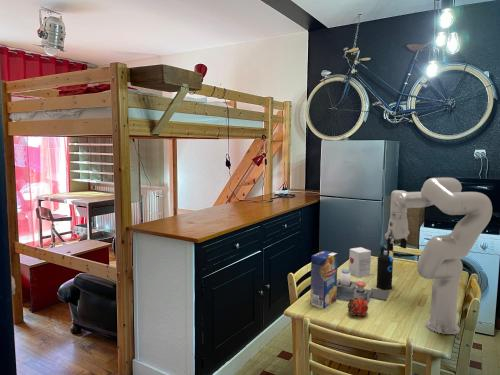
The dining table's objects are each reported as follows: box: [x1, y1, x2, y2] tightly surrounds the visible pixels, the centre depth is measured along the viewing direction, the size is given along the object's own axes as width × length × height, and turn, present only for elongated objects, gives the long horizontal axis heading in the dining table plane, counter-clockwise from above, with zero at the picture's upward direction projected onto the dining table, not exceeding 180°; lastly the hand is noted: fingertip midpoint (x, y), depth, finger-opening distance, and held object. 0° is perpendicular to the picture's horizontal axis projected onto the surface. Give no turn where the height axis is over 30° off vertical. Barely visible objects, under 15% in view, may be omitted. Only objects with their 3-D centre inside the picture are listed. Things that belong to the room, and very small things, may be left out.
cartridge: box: [339, 268, 352, 287], centre depth 192 cm, size 5×5×10 cm
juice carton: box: [310, 250, 339, 310], centre depth 180 cm, size 12×8×24 cm, turn 139°
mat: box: [370, 288, 391, 302], centre depth 190 cm, size 12×9×1 cm
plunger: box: [355, 280, 367, 293], centre depth 182 cm, size 5×5×4 cm
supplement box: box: [348, 246, 372, 278], centre depth 220 cm, size 9×9×15 cm
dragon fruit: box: [347, 297, 369, 317], centre depth 168 cm, size 8×8×12 cm
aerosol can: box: [375, 250, 394, 291], centre depth 199 cm, size 8×8×20 cm
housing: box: [336, 278, 373, 304], centre depth 189 cm, size 15×18×5 cm
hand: (396, 249), depth 186 cm, fingers open, 9 cm apart
